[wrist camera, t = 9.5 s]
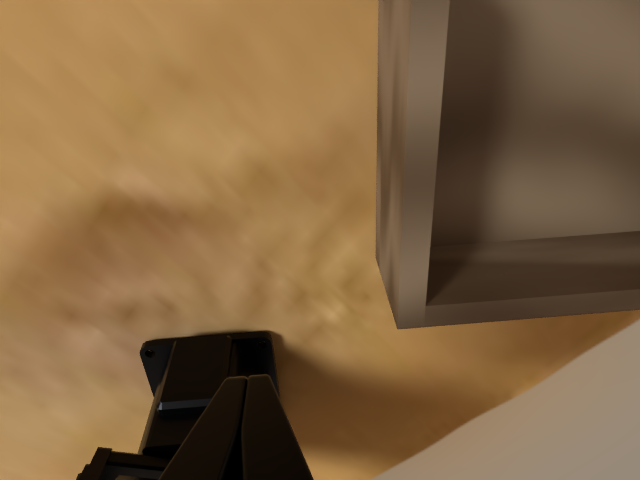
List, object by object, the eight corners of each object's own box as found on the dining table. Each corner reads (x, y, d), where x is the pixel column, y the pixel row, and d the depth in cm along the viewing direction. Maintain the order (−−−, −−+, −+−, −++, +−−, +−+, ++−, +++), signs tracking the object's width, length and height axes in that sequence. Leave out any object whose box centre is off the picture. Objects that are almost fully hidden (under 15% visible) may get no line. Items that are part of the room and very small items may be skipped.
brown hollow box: (648, 236, 23) (733, 302, 18) (375, 257, 22) (397, 329, 18) (755, -68, 17) (919, -77, 12) (379, -47, 16) (413, -47, 12)
